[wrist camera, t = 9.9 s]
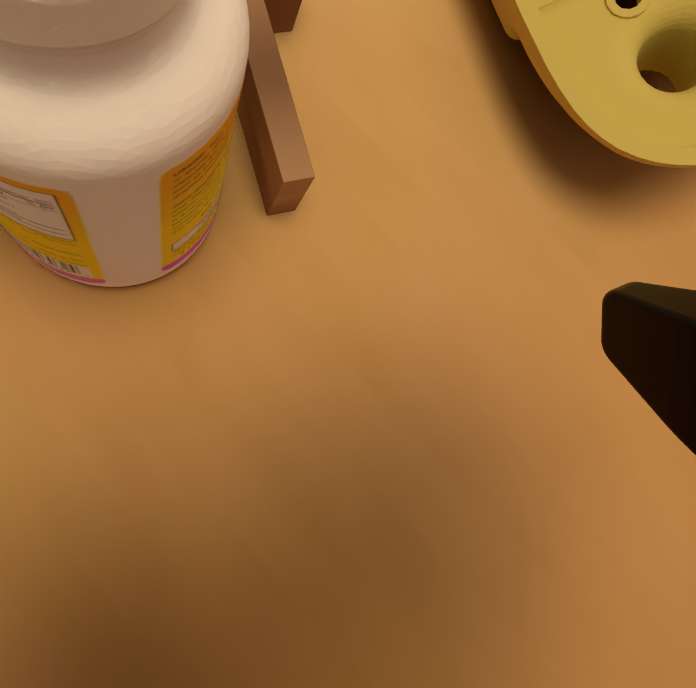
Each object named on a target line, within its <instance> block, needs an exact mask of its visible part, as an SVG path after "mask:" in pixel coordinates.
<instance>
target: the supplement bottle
mask: <svg viewBox="0 0 696 688" xmlns="http://www.w3.org/2000/svg"><path fill="white" fill-rule="evenodd" d="M249 36H250V33H249V15H248V6H247V1H246V0H0V224H1V225H2V226H3V228H4V229H5V230H6V231H7V233H8V234H9V235H10V236H11V237H12V238H13V240H14V241H15V242H16V243H17V244H18V245H19V246H20V247H21V248H22V249H23V250H24V251H25V252H26V253H28V254H29V255H30V256H31V257H32V258H33V259H35V260H36V261H37V262H39V263H40V264H41V265H43V266H44V267H46V268H48V269H49V270H51V271H53V272H55V273H57V274H59V275H61V276H63V277H66V278H68V279H71V280H74V281H77V282H80V283H84V284H89V285H95V286H105V287H122V286H131V285H137V284H141V283H145V282H148V281H151V280H154V279H157V278H159V277H161V276H163V275H165V274H167V273H169V272H171V271H172V270H174V269H176V268H177V267H179V266H180V265H181V264H183V263H184V262H185V261H186V260H187V259H188V258H190V257H191V255H192V254H193V253H194V252H195V251H196V250H197V249H198V248H199V246H200V245H201V244H202V242H203V241H204V239H205V237H206V236H207V234H208V232H209V230H210V228H211V225H212V223H213V220H214V217H215V214H216V210H217V207H218V202H219V198H220V194H221V189H222V184H223V178H224V173H225V169H226V164H227V159H228V154H229V149H230V143H231V139H232V134H233V128H234V123H235V118H236V113H237V108H238V103H239V99H240V95H241V90H242V86H243V81H244V76H245V70H246V64H247V58H248V52H249Z"/></svg>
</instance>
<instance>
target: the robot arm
mask: <svg viewBox="0 0 696 688" xmlns="http://www.w3.org/2000/svg"><path fill="white" fill-rule="evenodd" d="M601 343H602V347H603V350H604V352H605V354H606V356H607V357H608V359H609V360H610V361H611V362H612V363H613V364H614V366H615V367H616V368H617V369H618V370H619V371H620V373H621V374H622V375H623V376H624V377H625V378H626V379H627V381H628V382H629V383H630V384H631V385H632V386H633V387H634V389H635V390H636V391H637V392H638V393H639V394H640V396H641V397H642V398H643V399H644V400H645V401H646V402H647V404H648V405H649V406H650V407H651V408H652V409H653V411H654V412H655V413H656V414H657V415H658V416H659V417H660V419H661V420H662V421H663V422H664V423H665V424H666V425H667V427H668V428H669V429H670V430H671V431H672V432H673V433H674V434H675V435H676V436H677V437H678V438H679V439H680V440H681V441H682V442H683V443H684V444H685V445H686V446H687V447H688V448H689V449H690V450H691V451H692V452H693V453H694V454H695V455H696V290H689V289H682V288H675V287H668V286H662V285H655V284H648V283H641V282H630V283H627V284H625V285H622V286H620V287H618V288H615V289H613V290H611V291H609V292H608V293H606V294H605V296H604V298H603V301H602V329H601Z"/></svg>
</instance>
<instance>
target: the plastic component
mask: <svg viewBox="0 0 696 688" xmlns="http://www.w3.org/2000/svg"><path fill="white" fill-rule="evenodd" d="M491 1H492V3H493V6H494V8H495V10H496V12H497V14H498V17H499V19H500V21H501V23H502V25H503V28H504V30H505V32H506V33H507V35H508V36H509V37H511V38H512V39H514V40H521V42H522V44H523V47H524V49H525V51H526V53H527V55H528V57H529V59H530V61H531V62H532V64H533V66H534V68H535V70H536V71H537V73H538V75H539V76H540V78H541V79H542V81H543V83H544V84H545V85H546V87H547V88H548V90H549V91H550V93H551V94H552V95H553V97H554V98H555V99H556V100H557V102H558V103H559V104H560V105H561V106H562V108H563V109H564V110H565V111H566V112H567V114H568V115H569V116H570V117H571V118H572V119H573V120H574V121H575V122H576V123H577V124H578V125H579V126H580V127H581V128H582V129H583V130H585V131H586V132H587V133H588V134H589V135H591V136H592V137H593V138H594V139H596V140H597V141H598V142H600V143H601V144H603V145H604V146H606V147H607V148H609V149H610V150H612V151H614V152H616V153H617V154H619V155H621V156H624V157H626V158H628V159H631V160H634V161H637V162H640V163H644V164H649V165H654V166H661V167H672V168H688V167H696V0H636V1H637V6H636V7H634V8H631V9H624V8H621V7H620V6H618V5H617V4H616V2H615V0H491ZM643 70H652V71H656V72H660V73H661V74H663V75H664V76H666V77H667V78H669V79H670V81H671V82H672V84H673V86H674V87H675V93H669V92H663V91H660V90H658V89H655V88H653V87H652V86H650V85H649V84H647V83H646V81H645V80H644V79H643V78H642V77H641V75H640V73H639V71H643Z"/></svg>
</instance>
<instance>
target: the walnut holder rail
mask: <svg viewBox="0 0 696 688" xmlns="http://www.w3.org/2000/svg"><path fill="white" fill-rule="evenodd" d="M246 1H247V6H248V15H249V33H250V36H249V52H248V58H247V64H246V70H245V76H244V81H243V86H242V90H241V95H240V99H239V103H238V108H237V110H238V113H239V117H240V120H241V124H242V128H243V131H244V135H245V138H246V142H247V145H248V149H249V152H250V156H251V159H252V163H253V166H254V170H255V173H256V177H257V181H258V184H259V188H260V191H261V195H262V198H263V202H264V205H265V209H266V212H267V215H271V214H276V213H282V212H287V211H292V210H295V209H296V207H297V206H298V204H299V202H300V201H301V199H302V197H303V196H304V194H305V192H306V191H307V189H308V187H309V186H310V184H311V182H312V181H313V179H314V177H315V176H314V172H313V169H312V165H311V162H310V158H309V155H308V151H307V148H306V144H305V141H304V137H303V134H302V130H301V127H300V123H299V120H298V117H297V113H296V110H295V106H294V103H293V99H292V96H291V92H290V89H289V85H288V82H287V78H286V75H285V71H284V68H283V65H282V61H281V58H280V54H279V51H278V47H277V44H276V40H275V37H274V33H273V32H282V31H292V29H293V26H294V23H295V20H296V17H297V14H298V11H299V7H300V4H301V1H302V0H246Z"/></svg>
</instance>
